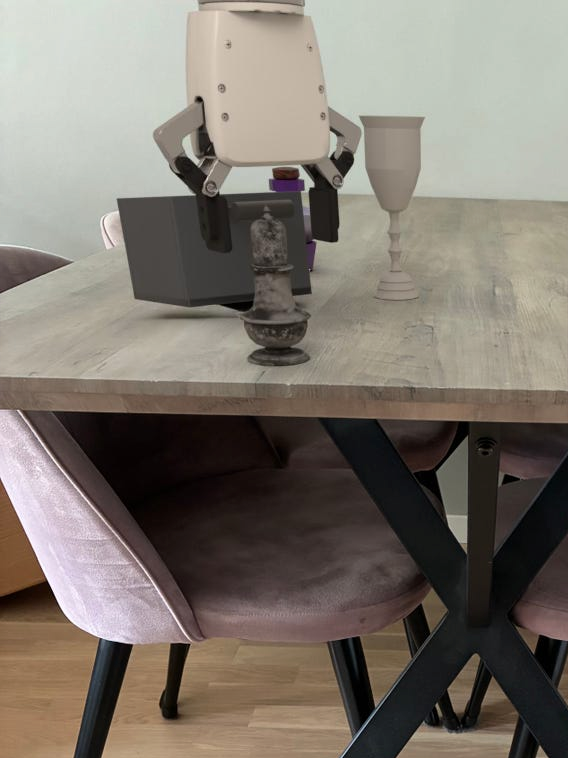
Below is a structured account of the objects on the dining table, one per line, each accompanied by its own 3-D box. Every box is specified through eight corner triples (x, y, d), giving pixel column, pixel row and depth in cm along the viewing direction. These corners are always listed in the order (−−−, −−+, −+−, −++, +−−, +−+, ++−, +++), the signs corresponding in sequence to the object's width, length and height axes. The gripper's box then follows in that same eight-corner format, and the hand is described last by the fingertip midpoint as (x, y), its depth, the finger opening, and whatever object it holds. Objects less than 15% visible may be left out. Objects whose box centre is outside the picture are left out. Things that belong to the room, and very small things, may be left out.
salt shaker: (312, 349, 84) (303, 201, 79) (314, 365, 79) (304, 208, 74) (245, 351, 84) (230, 201, 78) (242, 367, 79) (226, 208, 73)
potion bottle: (329, 265, 128) (323, 165, 122) (323, 275, 120) (317, 169, 115) (264, 264, 128) (255, 164, 122) (254, 274, 120) (244, 168, 114)
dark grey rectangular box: (338, 297, 98) (328, 190, 94) (213, 311, 90) (196, 195, 86) (250, 287, 112) (237, 193, 107) (134, 299, 104) (116, 198, 100)
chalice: (353, 294, 109) (344, 115, 100) (399, 288, 113) (395, 115, 104) (392, 303, 104) (387, 116, 96) (439, 297, 109) (439, 117, 100)
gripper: (324, 2, 76) (339, 233, 85) (112, -13, 66) (153, 250, 75) (378, -5, 71) (388, 242, 80) (157, -22, 61) (195, 261, 70)
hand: (274, 245), depth 77 cm, fingers open, 9 cm apart
